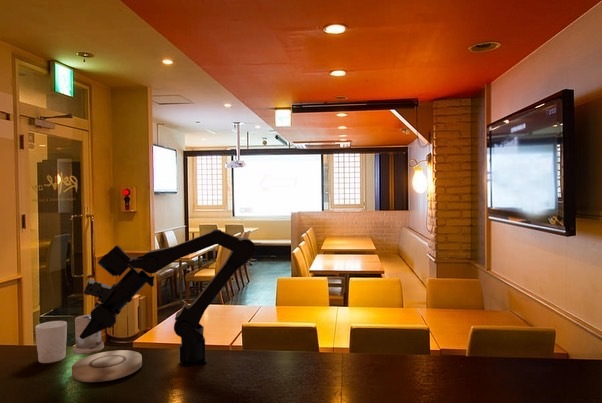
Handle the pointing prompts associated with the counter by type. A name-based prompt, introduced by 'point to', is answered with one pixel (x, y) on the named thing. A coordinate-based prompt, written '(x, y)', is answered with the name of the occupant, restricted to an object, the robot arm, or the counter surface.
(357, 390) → the counter surface
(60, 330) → the white cup
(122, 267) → the robot arm
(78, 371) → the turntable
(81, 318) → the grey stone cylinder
